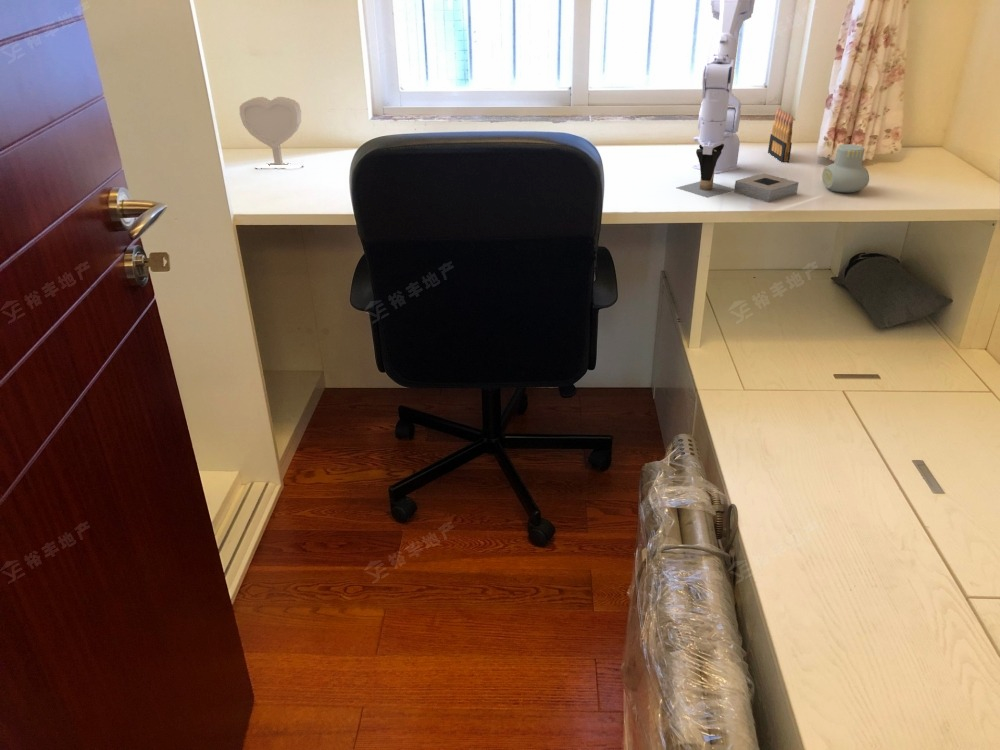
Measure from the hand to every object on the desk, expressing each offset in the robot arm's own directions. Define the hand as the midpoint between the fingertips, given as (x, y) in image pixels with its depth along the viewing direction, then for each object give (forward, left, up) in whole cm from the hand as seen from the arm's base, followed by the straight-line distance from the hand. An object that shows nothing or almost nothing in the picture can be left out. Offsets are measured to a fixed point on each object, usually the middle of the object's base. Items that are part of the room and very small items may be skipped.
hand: (707, 177), depth 188 cm
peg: (0, 0, -3) cm, 3 cm away
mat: (0, 0, -3) cm, 3 cm away
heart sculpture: (+73, -87, -3) cm, 114 cm away
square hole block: (-8, +11, -3) cm, 14 cm away
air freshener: (-25, +20, -3) cm, 32 cm away
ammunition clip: (-37, -8, -3) cm, 38 cm away
